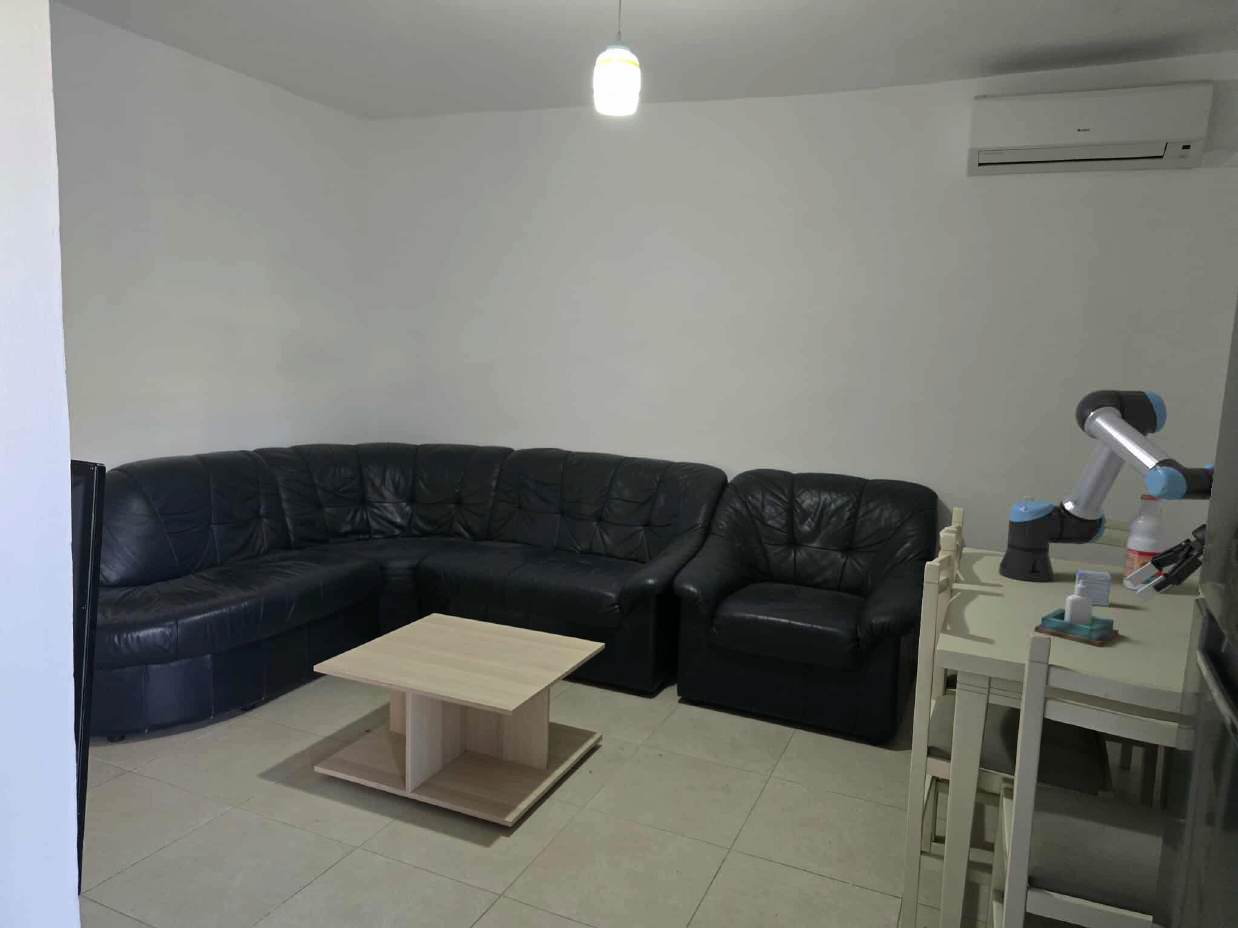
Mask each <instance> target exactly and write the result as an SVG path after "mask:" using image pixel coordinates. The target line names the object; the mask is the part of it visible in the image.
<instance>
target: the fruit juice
mask: <svg viewBox="0 0 1238 928" xmlns="http://www.w3.org/2000/svg"><path fill="white" fill-rule="evenodd" d="M1140 501H1141V504H1140V506H1139V509H1138V511H1137V512H1136V514H1135V515H1133V517H1132V518H1130V521H1129V530H1130V534H1129V536H1128V539H1127V542H1126V550H1125V551H1126V552H1125V560H1124V570H1123V578H1122V579H1123V582H1122V584H1123V587H1124V588H1126V589H1128V590H1132V591H1136V592H1137V591H1139V590H1140V589H1142V588H1143V587H1145V586H1146V585H1148V584H1149V583H1151V582H1153V581H1154V580H1156V579H1157V578H1159V577H1160V576H1162V575H1161V574H1163V570H1162V571H1161V572H1160V571H1159V570H1158V569H1157V568H1156V569H1157V570H1158V571H1159V572H1157V573H1156V574H1154V575H1153V576H1151V577H1150V578H1148V579H1147V580H1145V581H1143V582H1142V583H1140V584H1139V585H1137V586H1136V587H1134V586H1133V585H1132V584H1131V583H1130V582H1129V581H1128V580H1127V577H1128V576H1130V575H1131V574H1133V573H1134V572H1136V571H1137V570H1139V569H1140V568H1142V567H1143V566H1145V565H1146V564H1148V563H1149V562H1150V561H1151V560H1152V559H1151V558H1152V557H1153V556H1155V555H1157V554H1159V553H1161V552H1163V551H1165V550H1166V542H1165V539H1164V537H1165V534H1166V531H1167V522H1166V520H1165V519H1164V517H1163V516H1162V514H1161V510H1160V509H1161V508H1160V503H1161V501H1162V499H1159V498H1154V497H1152V496H1151V495H1150V494H1141V495H1140ZM1150 563H1151V562H1150Z"/></svg>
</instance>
